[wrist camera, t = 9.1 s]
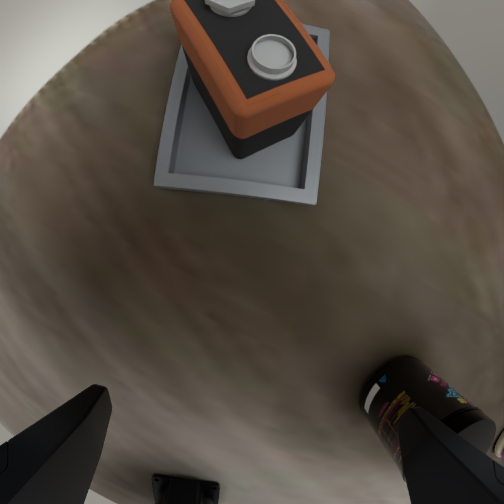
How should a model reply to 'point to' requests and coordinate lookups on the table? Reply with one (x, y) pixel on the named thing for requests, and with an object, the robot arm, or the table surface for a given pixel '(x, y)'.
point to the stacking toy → (500, 446)
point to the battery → (252, 68)
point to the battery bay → (221, 158)
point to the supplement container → (420, 405)
